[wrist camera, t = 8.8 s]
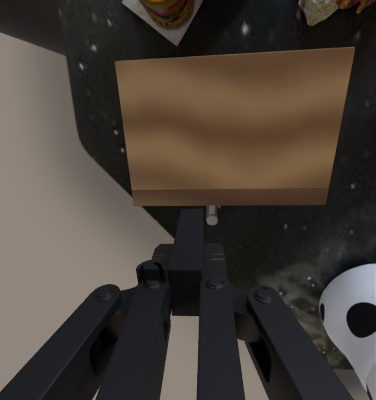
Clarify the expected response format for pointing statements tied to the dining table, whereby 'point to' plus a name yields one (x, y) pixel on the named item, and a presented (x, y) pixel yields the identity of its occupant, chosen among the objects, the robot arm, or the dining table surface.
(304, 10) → the pastry
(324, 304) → the doce de leite tub
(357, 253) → the dining table surface
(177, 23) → the condiment
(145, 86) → the cabinet
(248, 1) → the dining table surface
